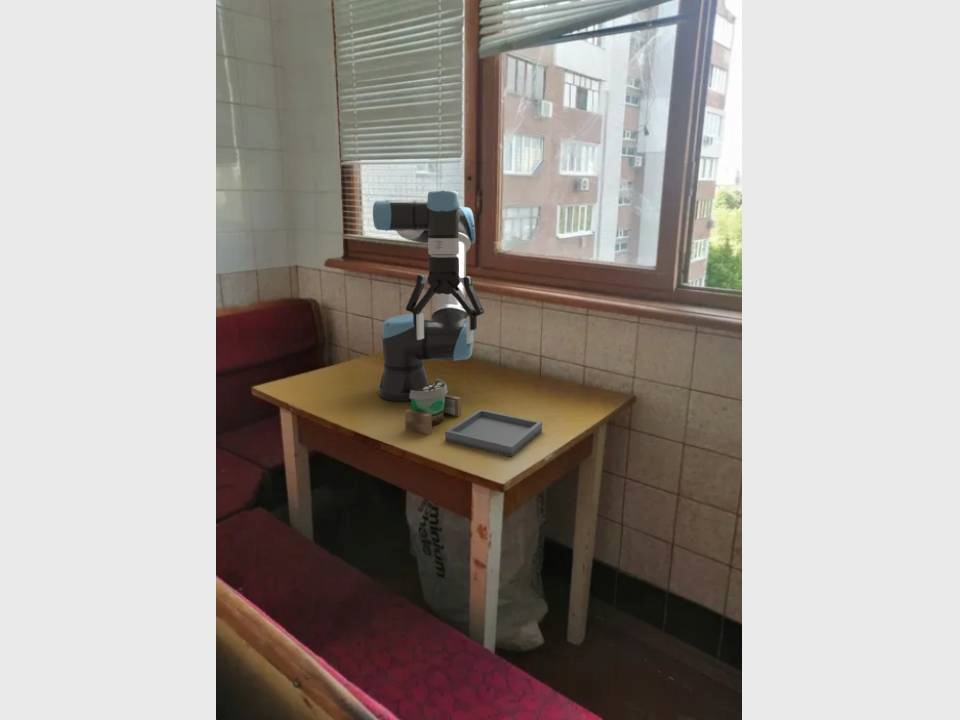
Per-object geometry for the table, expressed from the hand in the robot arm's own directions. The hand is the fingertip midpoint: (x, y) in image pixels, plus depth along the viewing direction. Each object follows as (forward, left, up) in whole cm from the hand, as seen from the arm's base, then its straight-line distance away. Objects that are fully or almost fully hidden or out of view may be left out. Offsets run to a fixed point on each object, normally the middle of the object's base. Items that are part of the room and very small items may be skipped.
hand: (444, 340), depth 149 cm
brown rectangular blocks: (-2, -2, -22) cm, 22 cm away
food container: (-2, -2, -22) cm, 22 cm away
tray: (+16, -2, -22) cm, 27 cm away
